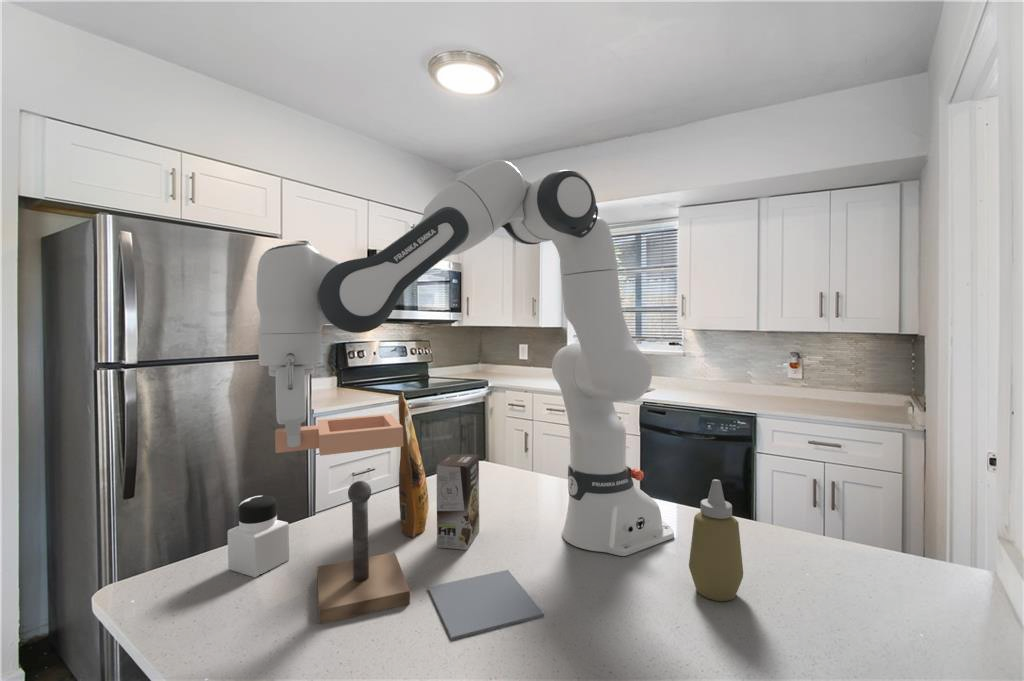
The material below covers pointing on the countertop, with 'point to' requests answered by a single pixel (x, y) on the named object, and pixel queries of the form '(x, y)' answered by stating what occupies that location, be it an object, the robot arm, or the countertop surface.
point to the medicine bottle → (258, 538)
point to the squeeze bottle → (716, 548)
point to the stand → (360, 572)
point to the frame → (346, 435)
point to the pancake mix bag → (411, 478)
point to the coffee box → (457, 501)
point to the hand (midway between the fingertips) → (294, 442)
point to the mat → (482, 603)
